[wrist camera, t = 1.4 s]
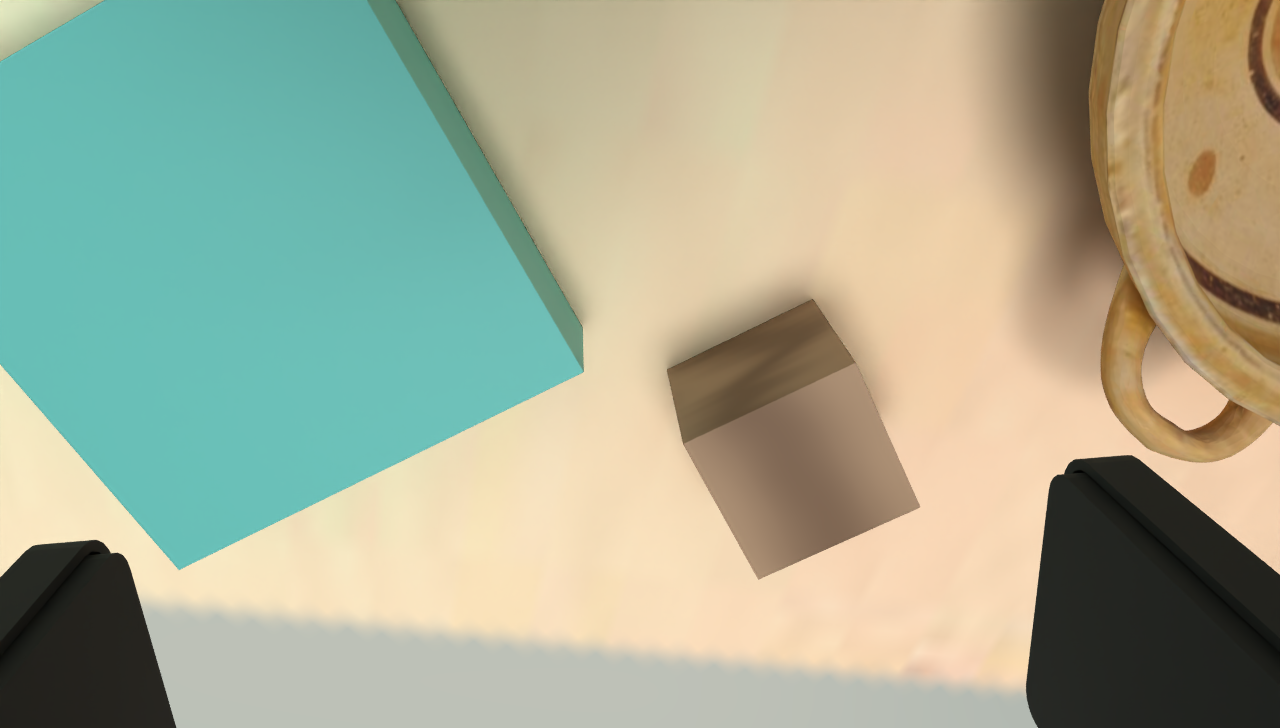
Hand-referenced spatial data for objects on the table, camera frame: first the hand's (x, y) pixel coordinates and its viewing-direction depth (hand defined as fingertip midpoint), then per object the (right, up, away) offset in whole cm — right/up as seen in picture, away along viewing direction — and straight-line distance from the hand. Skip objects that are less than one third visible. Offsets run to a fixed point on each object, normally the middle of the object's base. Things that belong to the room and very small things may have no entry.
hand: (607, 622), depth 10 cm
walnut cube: (+5, +1, +27) cm, 28 cm away
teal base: (-12, +7, +23) cm, 27 cm away
